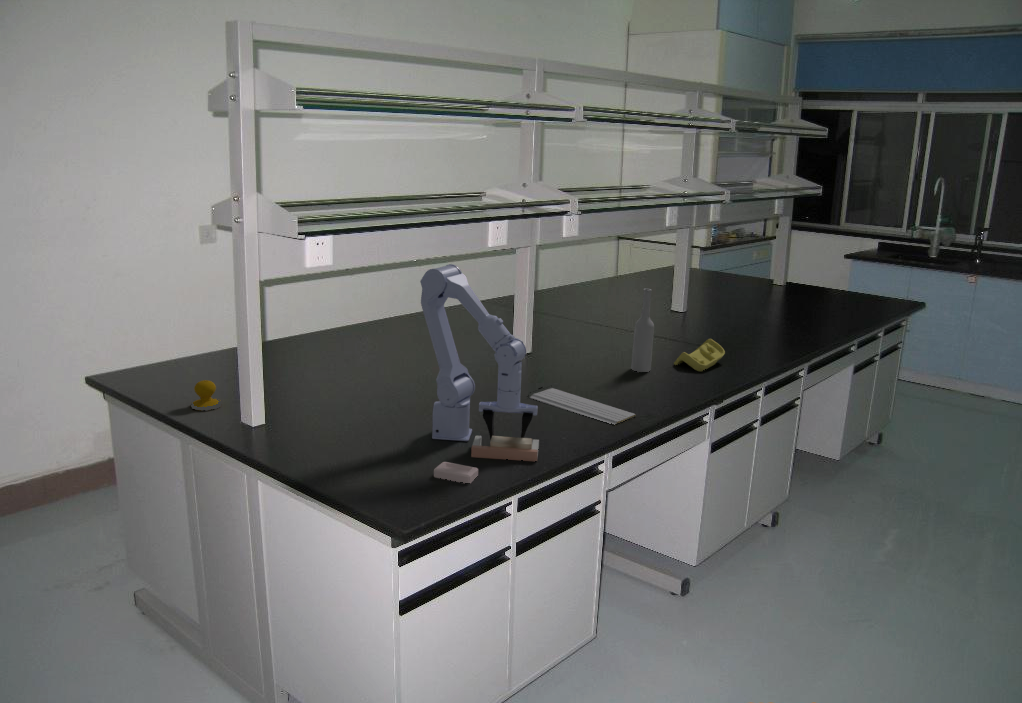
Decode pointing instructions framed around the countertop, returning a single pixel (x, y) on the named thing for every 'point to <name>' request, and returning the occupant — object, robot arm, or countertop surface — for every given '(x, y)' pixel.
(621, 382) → the countertop surface
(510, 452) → the block with end panels
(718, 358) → the plastic component
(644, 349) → the bottle
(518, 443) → the slat block
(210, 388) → the doorknob
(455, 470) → the soap bar
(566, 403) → the baseboard molding
